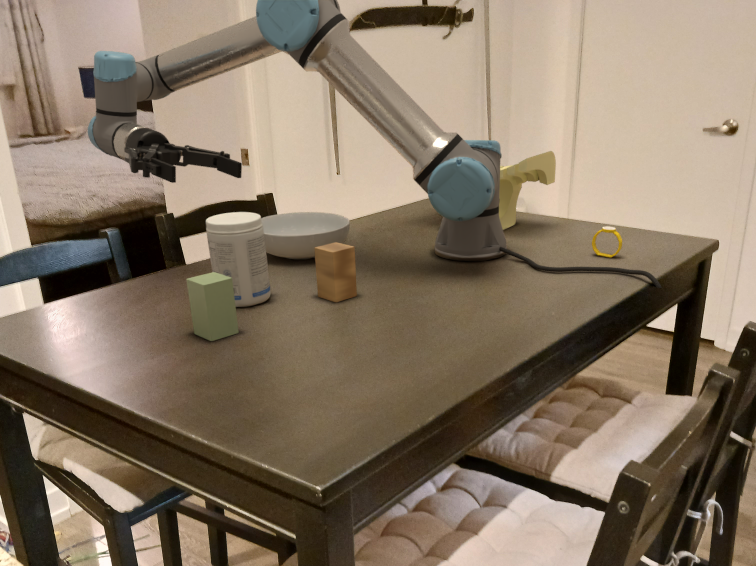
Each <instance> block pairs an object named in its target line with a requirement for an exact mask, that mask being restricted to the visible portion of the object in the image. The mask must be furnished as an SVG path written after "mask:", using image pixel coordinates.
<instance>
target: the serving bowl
mask: <svg viewBox="0 0 756 566" xmlns="http://www.w3.org/2000/svg"><path fill="white" fill-rule="evenodd" d="M261 222H262V224H263V225H262V226H263V231H264V239H265V247H266V254H270V255H272V256H275V257H280V258H286V259H290V260H310V259H315V249H314V248H315V247H318V246H323V245H327V244H331V243H335V242H337V243H341V244H345V242H346V240H347V239H348V236H349V233H350V224H351V222H350V219H349V218H348V217H346V216H344V215H342V214H337V213H332V212H321V211H297V212H285V213H278V214H273V215H267V216H264V217H261Z"/></svg>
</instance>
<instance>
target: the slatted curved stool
mask: <svg viewBox="0 0 756 566" xmlns="http://www.w3.org/2000/svg"><path fill="white" fill-rule="evenodd" d="M555 155H556V154H555V153H554V152H553V151H552V150H549V151H546V152H542V153H540V154H539V153H538V154H536V155H533V156H529V157H526V158H525V159H522V160H520V161H519V162H518V163H516V164H512V165H506V166H504V165H500V192H499V218H500V222H501V225H502V229H503V231H505V230H506V229H508V228H510V227H512V226H515V225H516V222H517V205H518V199H519V195H520V192H521V190H522V188H523V184H524V183H527V182H532V183H536V182H539V184H543V185H546V186H548V185H551V184H554V183H556V182H555V181H556V167H557V166H556V165H557V162H556V156H555Z"/></svg>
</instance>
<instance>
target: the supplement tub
mask: <svg viewBox="0 0 756 566" xmlns="http://www.w3.org/2000/svg"><path fill="white" fill-rule="evenodd" d="M261 218H262V216H261V215H260V213H256V212H249V211H236V212H235V211H233V212H226V213H219V214H216V215H215V214H214V215H212V216H209V217H208V218H206V219H205V230H206V239H207V245H208V252H209V258H210V266H211V271H212V272H216V273H219V274H222V275H225V276H228V277H231V278H232V282H233V290H234V298H235V306H236V308H247V307H252V306H256V305H259V304H263V303H265V302H266V301H268V300H269V299H270V297H271V293H272V290H271V283H270V274H269V266H268V256H267V252H266V247H265V239H264V231H263V226H262V225H263V224H262V222H261ZM212 272H211V273H212Z"/></svg>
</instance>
